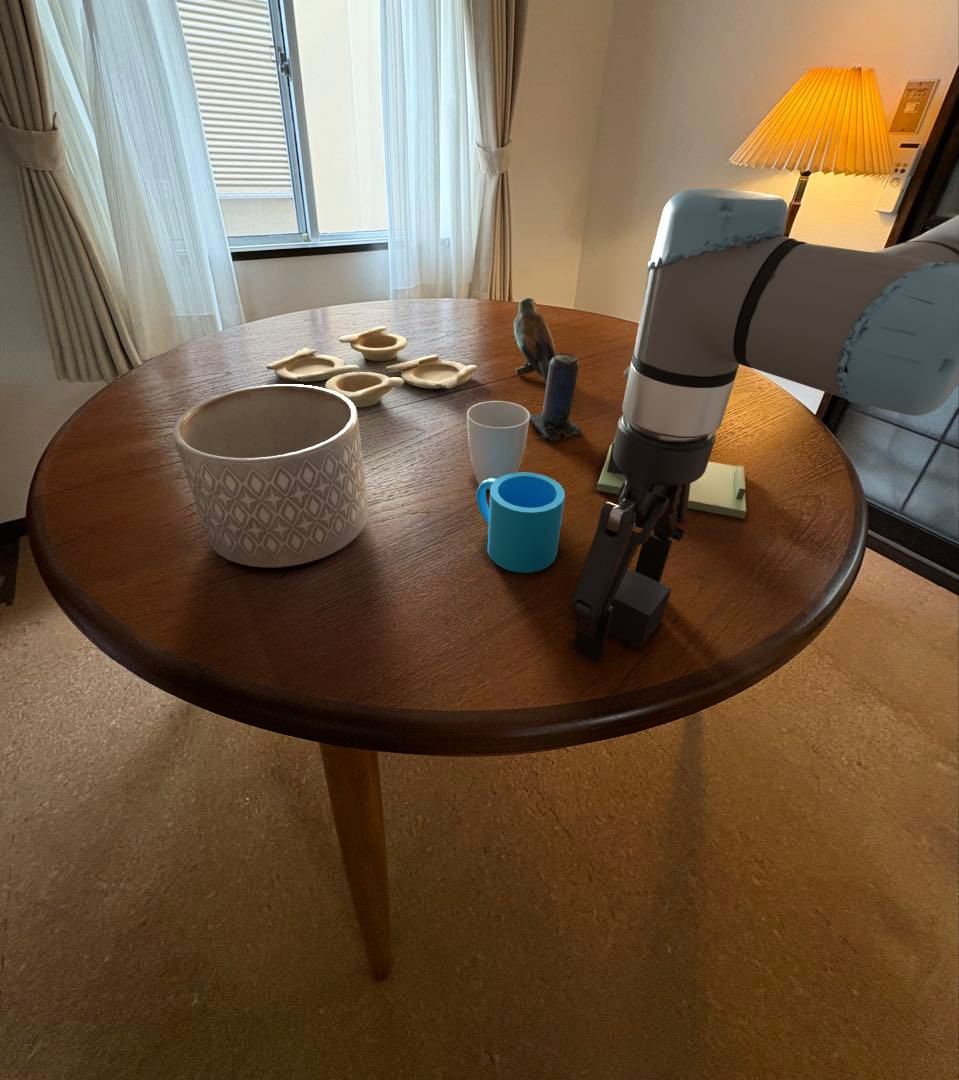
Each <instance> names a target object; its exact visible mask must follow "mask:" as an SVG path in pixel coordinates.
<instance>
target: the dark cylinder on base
mask: <svg viewBox="0 0 959 1080" xmlns="http://www.w3.org/2000/svg"><path fill="white" fill-rule="evenodd" d="M579 369H580V364H579V361H578V356H576V355H573V354H571V353H563V352H561V353H556V354H555V355H554V357H553V358H552V359H551V361H550V365H549V372H548V378H547V385H546V384H545V385H546V386H545V392H544V400H543V406H542V412H541V413H538V414H537V413H536V414H530V419H529V424H532V425H533V426H535V428H536V429H537V431H538V432H539V434H541V435H540V437H541V439H543V440H546V439H548V438H549V440H550V441H552V443H553V442H556V441H558V440H561V438H562V436H560V434H559V433H561V434H564V436H565V437H572V436H574V435H575V434H576V435H577V434H580V433H581V429H580V428H579V425H576V424H575V422H573V421H572V420H571V419H570V415H571V411H572V407H573V402H574V397H575V391H576V386H577V378H578V373H579Z"/></svg>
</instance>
